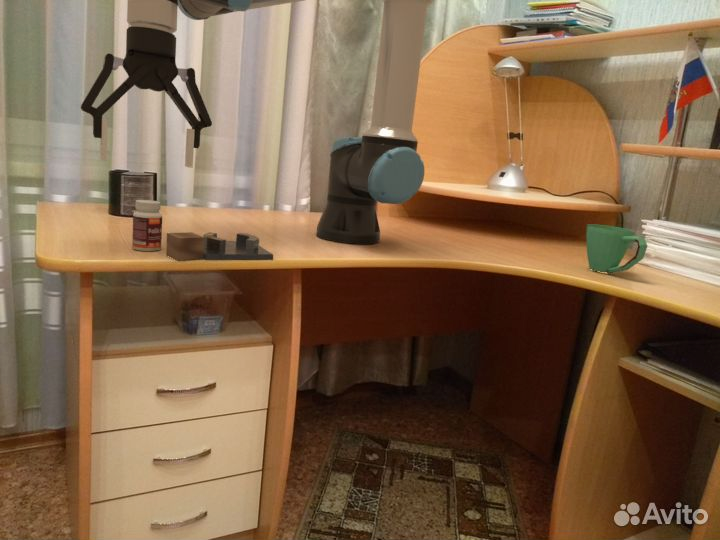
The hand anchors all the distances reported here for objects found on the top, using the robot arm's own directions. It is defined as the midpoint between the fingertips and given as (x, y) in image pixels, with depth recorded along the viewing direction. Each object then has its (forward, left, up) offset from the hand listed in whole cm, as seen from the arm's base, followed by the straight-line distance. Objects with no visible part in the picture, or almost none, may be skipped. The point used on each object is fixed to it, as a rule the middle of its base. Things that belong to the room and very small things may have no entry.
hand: (147, 163), depth 92 cm
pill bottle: (0, 0, -15) cm, 15 cm away
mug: (-93, +25, -15) cm, 98 cm away
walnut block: (-5, +7, -15) cm, 17 cm away
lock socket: (-14, +3, -15) cm, 21 cm away
